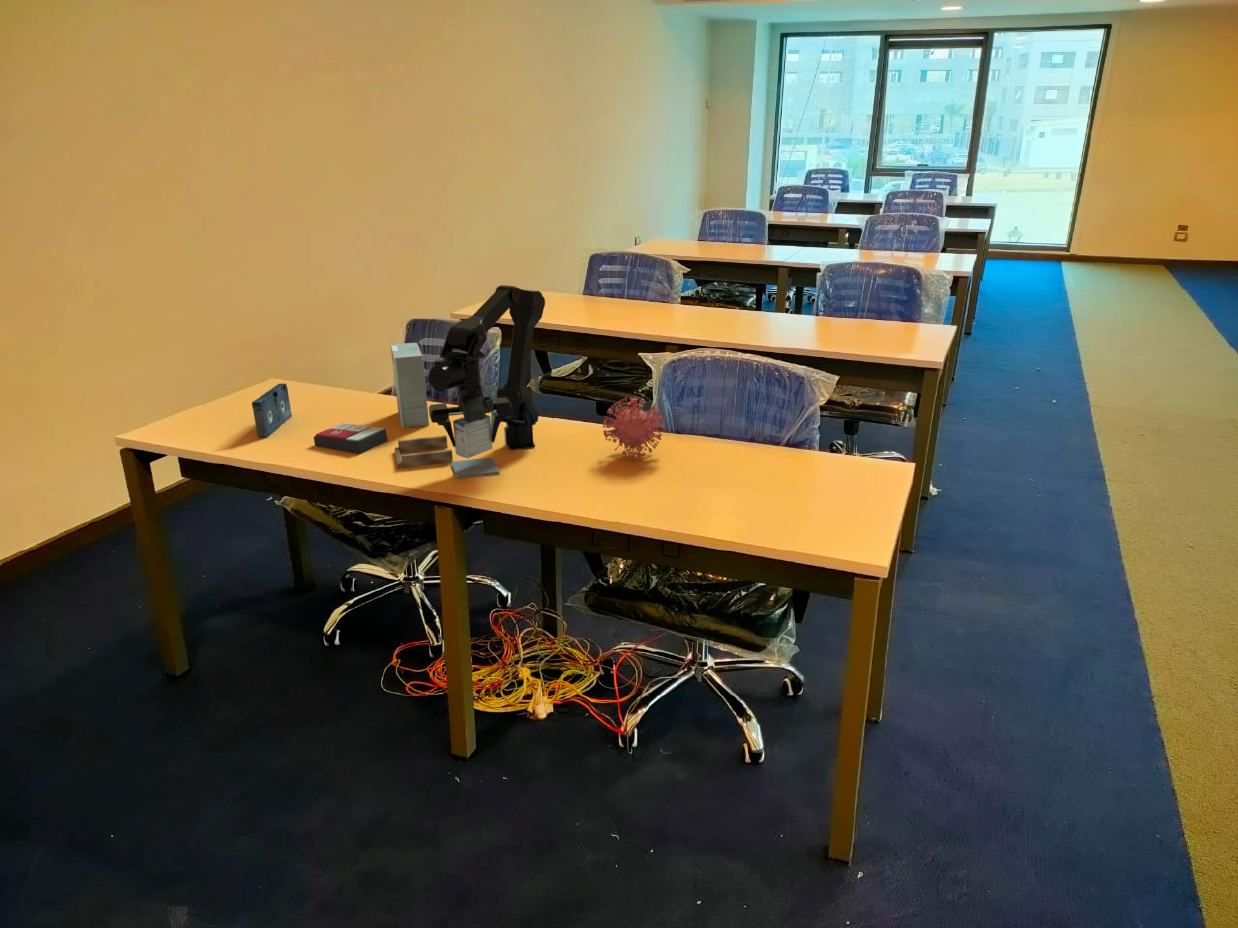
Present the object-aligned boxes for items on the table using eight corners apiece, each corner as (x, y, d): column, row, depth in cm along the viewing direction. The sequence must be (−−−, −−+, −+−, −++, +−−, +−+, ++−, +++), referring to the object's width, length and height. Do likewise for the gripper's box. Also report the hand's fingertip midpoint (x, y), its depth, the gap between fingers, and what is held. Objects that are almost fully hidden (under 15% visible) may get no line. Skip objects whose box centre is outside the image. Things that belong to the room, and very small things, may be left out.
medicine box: (480, 445, 208) (477, 411, 204) (493, 449, 205) (490, 415, 202) (455, 455, 202) (452, 420, 199) (468, 459, 199) (465, 423, 196)
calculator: (342, 421, 229) (386, 426, 223) (344, 436, 231) (388, 441, 224) (311, 433, 220) (357, 439, 213) (314, 449, 221) (359, 455, 215)
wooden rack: (447, 446, 220) (446, 435, 219) (452, 462, 209) (451, 450, 208) (395, 452, 216) (393, 440, 215) (398, 468, 205) (396, 456, 204)
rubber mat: (492, 459, 211) (492, 457, 210) (499, 473, 202) (499, 471, 202) (451, 464, 208) (451, 461, 208) (456, 478, 199) (456, 476, 199)
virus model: (591, 456, 212) (590, 398, 206) (633, 441, 222) (632, 386, 216) (634, 471, 202) (634, 411, 197) (676, 455, 212) (677, 397, 206)
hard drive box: (397, 412, 247) (390, 344, 240) (424, 409, 249) (418, 342, 242) (401, 428, 233) (393, 357, 226) (430, 425, 235) (423, 354, 228)
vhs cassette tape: (283, 416, 244) (278, 383, 241) (294, 416, 244) (288, 383, 240) (255, 438, 227) (249, 402, 224) (266, 438, 227) (260, 402, 223)
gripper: (430, 394, 187) (437, 460, 193) (515, 386, 192) (519, 451, 198) (425, 380, 197) (432, 444, 203) (506, 373, 202) (510, 435, 208)
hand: (473, 444), depth 203 cm, fingers closed on medicine box, 9 cm apart
